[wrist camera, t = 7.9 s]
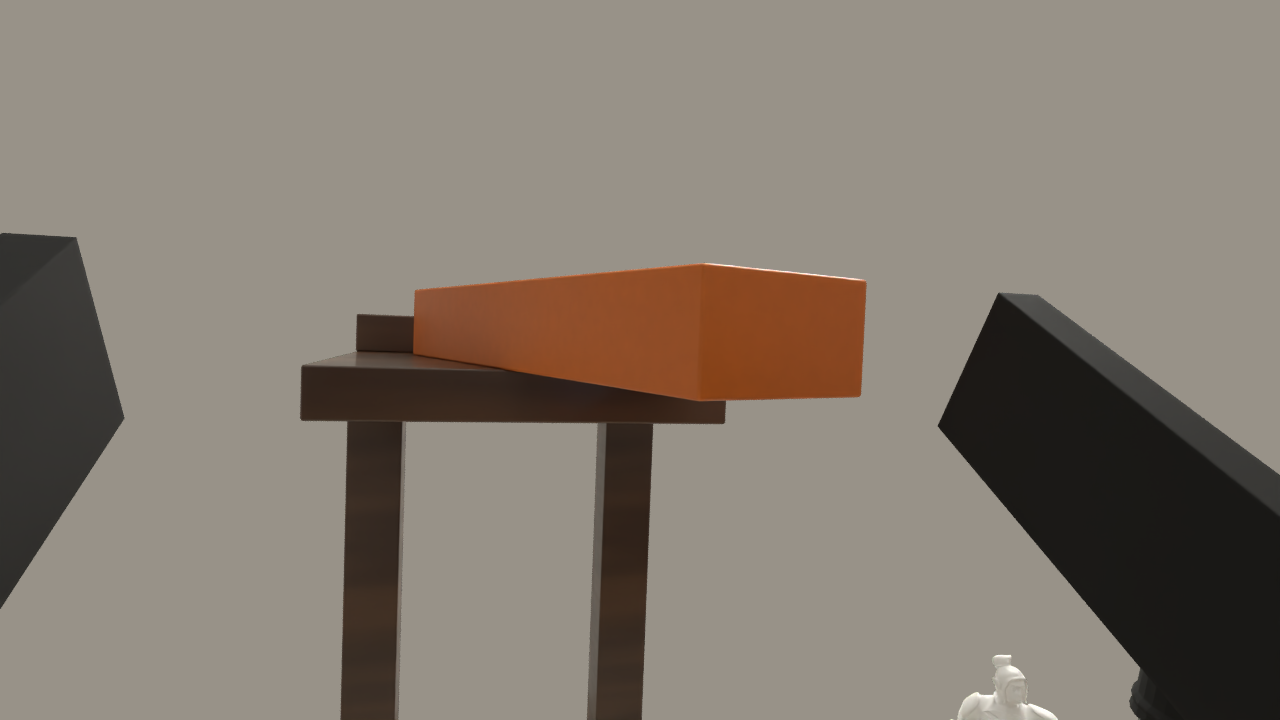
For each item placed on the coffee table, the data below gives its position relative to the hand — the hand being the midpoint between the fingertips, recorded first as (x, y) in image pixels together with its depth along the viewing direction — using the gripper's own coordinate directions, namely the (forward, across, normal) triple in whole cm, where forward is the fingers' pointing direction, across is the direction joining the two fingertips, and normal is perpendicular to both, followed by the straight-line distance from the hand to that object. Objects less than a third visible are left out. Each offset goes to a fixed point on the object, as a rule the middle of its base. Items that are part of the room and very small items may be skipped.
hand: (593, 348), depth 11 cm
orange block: (+9, +1, -6) cm, 11 cm away
